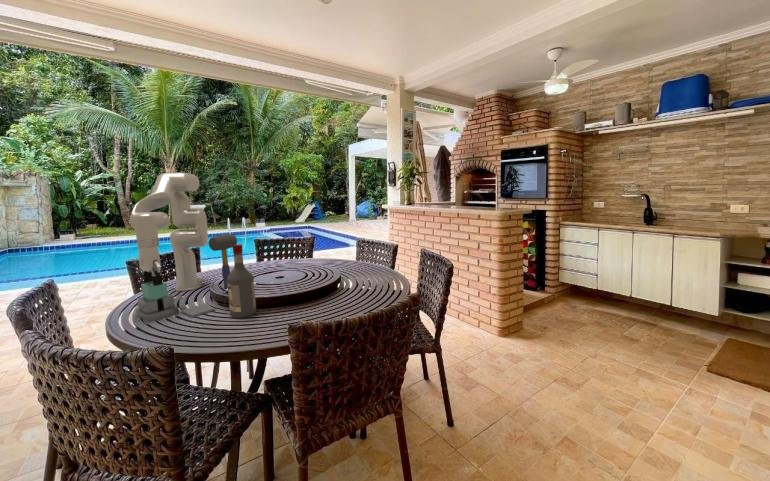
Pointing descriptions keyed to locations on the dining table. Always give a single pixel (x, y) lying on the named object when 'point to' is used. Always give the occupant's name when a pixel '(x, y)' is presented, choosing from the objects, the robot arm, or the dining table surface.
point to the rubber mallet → (223, 251)
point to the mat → (198, 310)
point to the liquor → (240, 287)
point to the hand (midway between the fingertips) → (153, 283)
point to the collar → (154, 291)
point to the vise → (157, 308)
